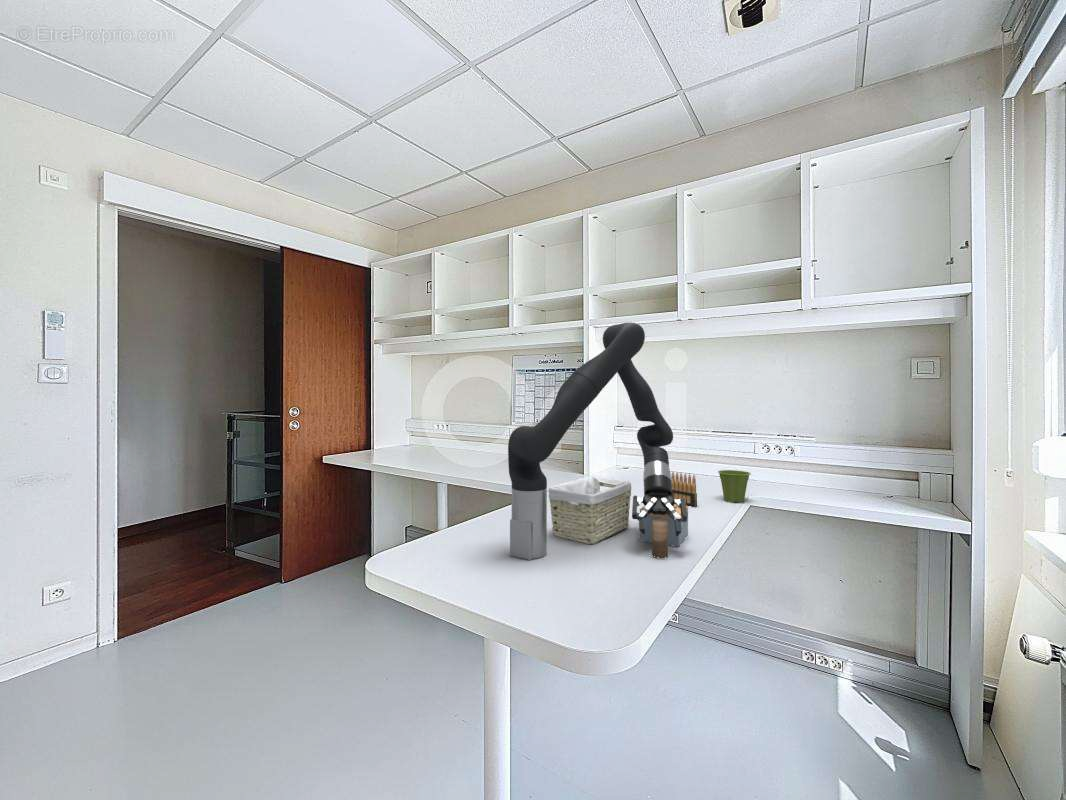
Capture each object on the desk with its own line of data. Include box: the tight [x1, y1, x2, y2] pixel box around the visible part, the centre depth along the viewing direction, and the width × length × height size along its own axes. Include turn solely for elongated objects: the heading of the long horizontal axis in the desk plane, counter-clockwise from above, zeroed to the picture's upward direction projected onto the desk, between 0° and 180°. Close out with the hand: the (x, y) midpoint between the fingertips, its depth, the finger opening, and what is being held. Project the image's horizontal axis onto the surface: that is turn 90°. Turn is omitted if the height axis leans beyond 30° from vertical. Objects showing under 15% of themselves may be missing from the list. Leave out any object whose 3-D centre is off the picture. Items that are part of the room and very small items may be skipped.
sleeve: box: [639, 504, 689, 547], centre depth 136 cm, size 11×11×9 cm
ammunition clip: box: [671, 471, 698, 508], centre depth 178 cm, size 11×2×12 cm, turn 41°
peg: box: [651, 519, 669, 559], centre depth 122 cm, size 4×4×9 cm
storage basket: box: [548, 475, 632, 545], centre depth 143 cm, size 24×16×15 cm
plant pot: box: [717, 469, 752, 503], centre depth 184 cm, size 12×12×11 cm
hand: (660, 533), depth 122 cm, fingers open, 8 cm apart
